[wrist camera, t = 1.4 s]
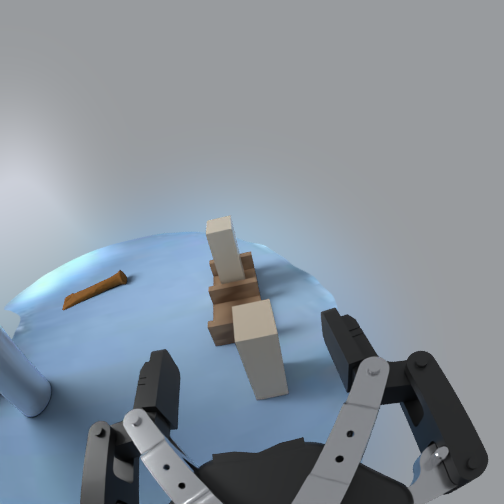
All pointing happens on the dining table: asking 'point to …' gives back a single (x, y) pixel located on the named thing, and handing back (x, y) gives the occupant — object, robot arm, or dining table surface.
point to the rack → (231, 300)
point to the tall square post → (225, 249)
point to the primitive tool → (95, 289)
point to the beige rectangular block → (260, 348)
